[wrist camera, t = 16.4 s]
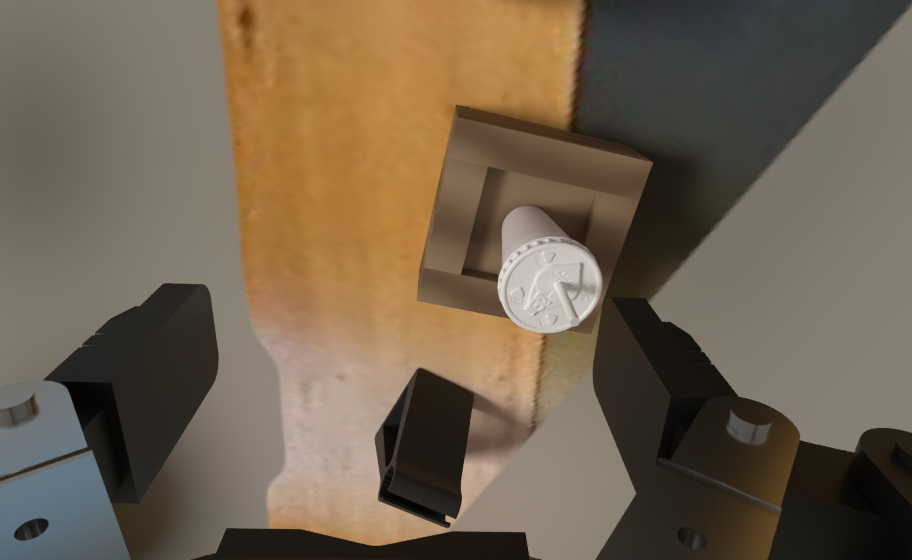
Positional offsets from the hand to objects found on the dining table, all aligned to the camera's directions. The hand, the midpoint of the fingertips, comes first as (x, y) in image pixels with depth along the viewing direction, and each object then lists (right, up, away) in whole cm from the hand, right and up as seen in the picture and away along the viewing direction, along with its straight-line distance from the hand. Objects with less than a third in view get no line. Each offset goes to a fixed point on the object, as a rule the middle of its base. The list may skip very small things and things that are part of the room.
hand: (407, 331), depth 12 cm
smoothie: (+6, +5, +33) cm, 33 cm away
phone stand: (-2, -12, +45) cm, 47 cm away
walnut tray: (+6, +7, +37) cm, 38 cm away
